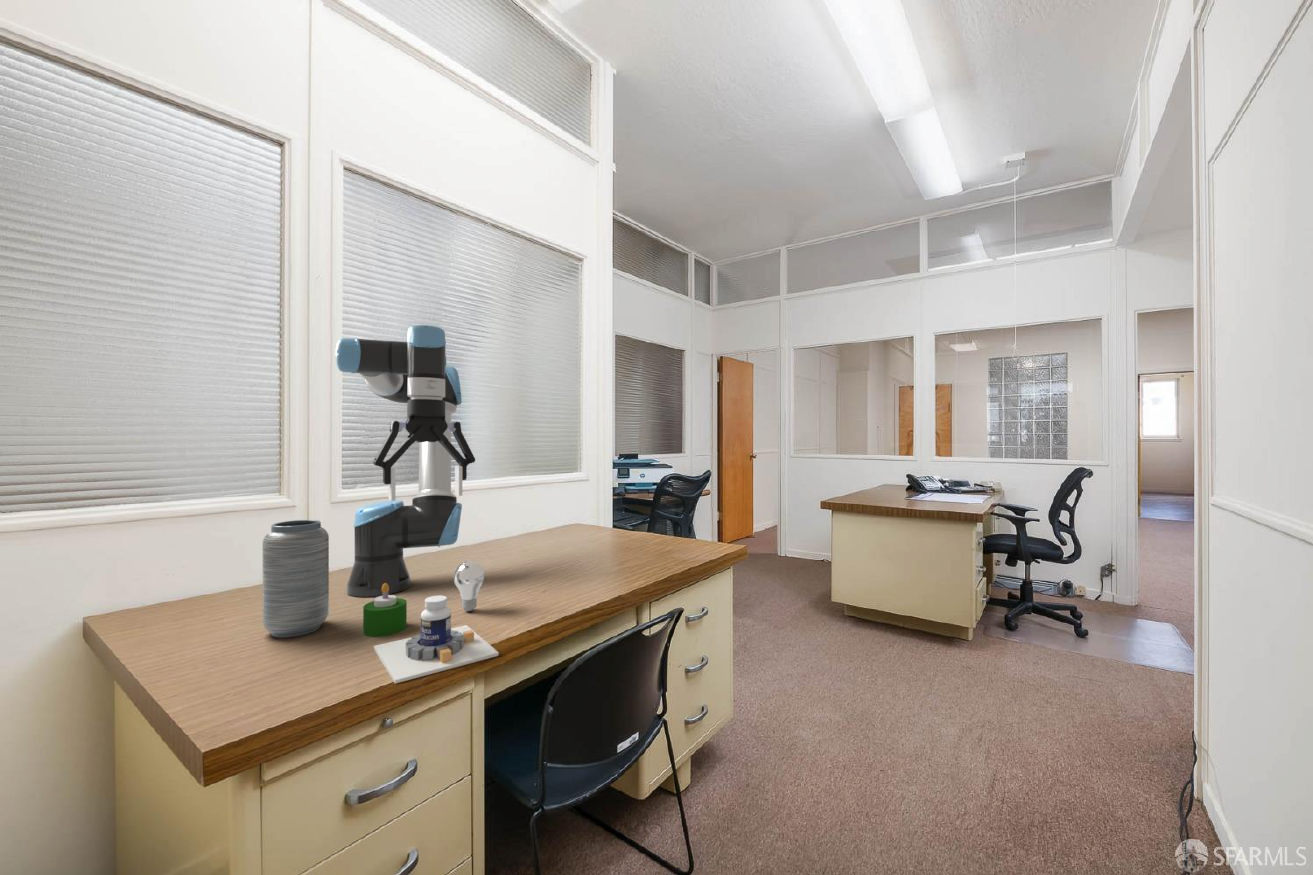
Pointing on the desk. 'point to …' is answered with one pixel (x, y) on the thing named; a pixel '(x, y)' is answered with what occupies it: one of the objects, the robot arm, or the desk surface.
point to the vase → (295, 578)
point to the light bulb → (469, 583)
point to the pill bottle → (435, 622)
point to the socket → (432, 654)
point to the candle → (384, 615)
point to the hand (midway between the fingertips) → (426, 497)
